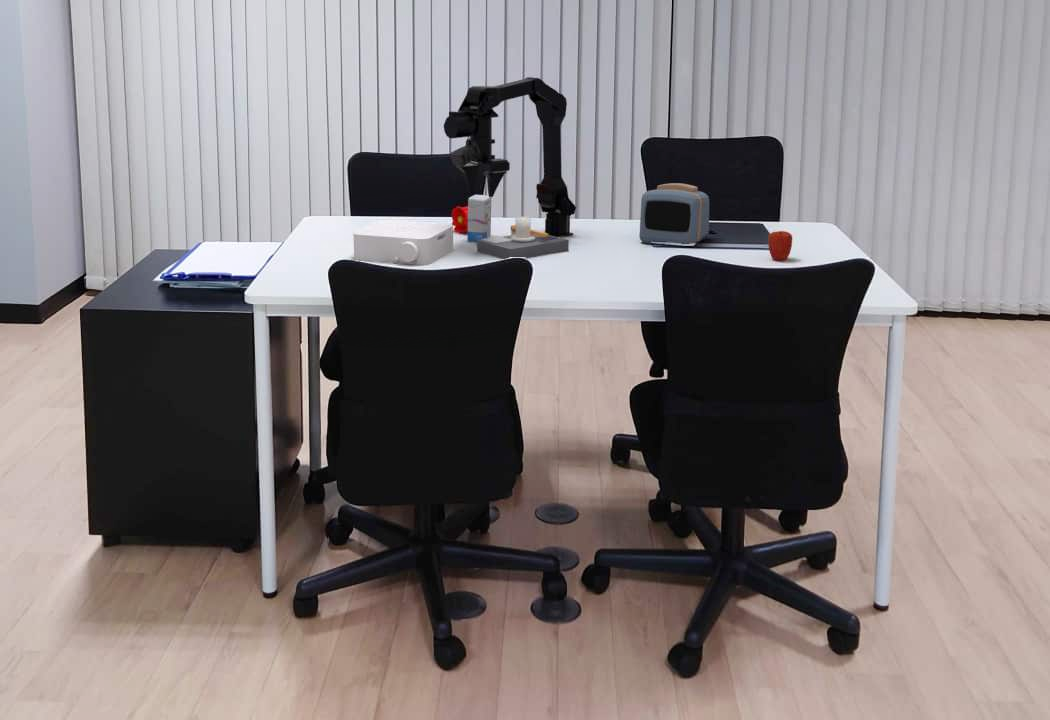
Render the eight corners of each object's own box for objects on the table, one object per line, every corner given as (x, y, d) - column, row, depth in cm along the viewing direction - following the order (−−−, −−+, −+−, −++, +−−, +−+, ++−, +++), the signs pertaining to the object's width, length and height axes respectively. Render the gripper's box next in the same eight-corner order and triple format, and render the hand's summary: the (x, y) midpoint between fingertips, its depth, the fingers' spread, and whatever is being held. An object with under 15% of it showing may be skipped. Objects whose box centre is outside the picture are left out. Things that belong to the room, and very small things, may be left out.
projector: (348, 261, 350) (348, 235, 348) (383, 245, 371) (382, 219, 369) (425, 267, 344) (424, 240, 342) (455, 250, 365) (455, 224, 363)
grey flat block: (532, 241, 375) (532, 226, 374) (568, 250, 364) (568, 235, 362) (474, 251, 362) (474, 235, 361) (510, 260, 351) (510, 244, 350)
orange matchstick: (508, 229, 369) (508, 225, 368) (515, 228, 370) (515, 224, 370) (542, 237, 358) (542, 233, 358) (549, 236, 360) (549, 232, 359)
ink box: (484, 242, 373) (484, 199, 370) (467, 241, 374) (466, 198, 371) (491, 236, 382) (491, 194, 378) (474, 235, 382) (474, 193, 379)
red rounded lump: (772, 256, 359) (773, 228, 357) (794, 258, 356) (796, 230, 354) (763, 260, 354) (765, 231, 352) (786, 263, 351) (788, 234, 349)
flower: (491, 215, 384) (467, 217, 380) (484, 238, 389) (460, 240, 384) (477, 200, 389) (454, 201, 385) (471, 222, 394) (447, 224, 389)
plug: (524, 247, 367) (524, 214, 364) (539, 251, 362) (540, 218, 360) (505, 250, 363) (506, 217, 360) (521, 254, 358) (521, 221, 356)
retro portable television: (636, 244, 373) (638, 186, 369) (654, 233, 388) (656, 177, 383) (694, 249, 367) (697, 190, 363) (710, 238, 382) (713, 181, 377)
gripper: (435, 133, 360) (436, 192, 365) (475, 141, 346) (475, 202, 350) (470, 131, 367) (471, 188, 371) (511, 138, 352) (510, 198, 357)
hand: (481, 194), depth 362 cm, fingers open, 9 cm apart
